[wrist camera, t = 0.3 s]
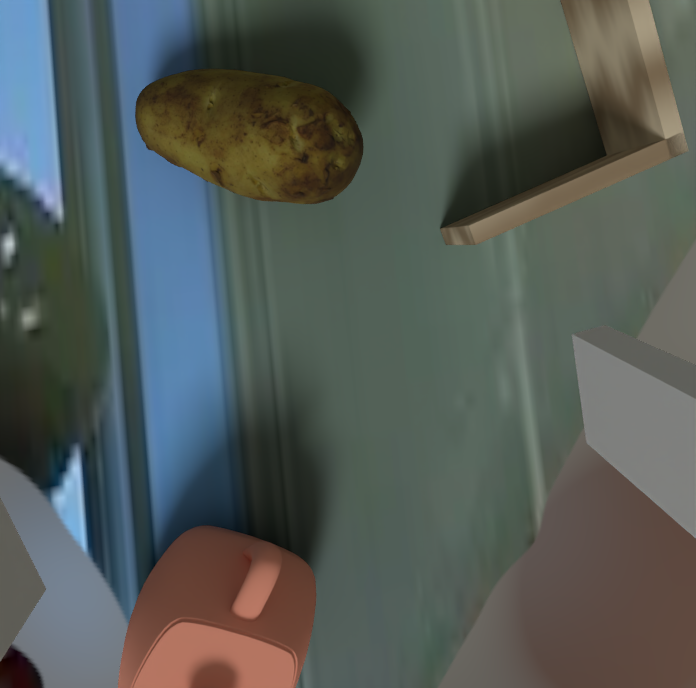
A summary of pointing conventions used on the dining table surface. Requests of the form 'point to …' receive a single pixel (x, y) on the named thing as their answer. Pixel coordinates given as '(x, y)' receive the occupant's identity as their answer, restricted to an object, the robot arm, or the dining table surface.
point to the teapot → (220, 615)
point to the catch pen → (601, 114)
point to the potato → (252, 133)
